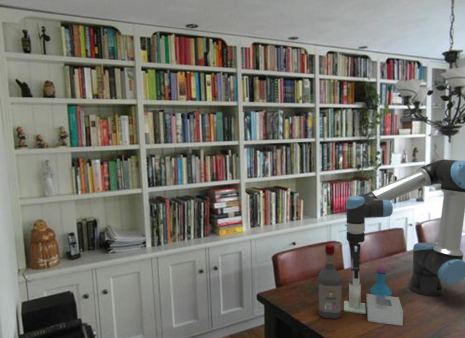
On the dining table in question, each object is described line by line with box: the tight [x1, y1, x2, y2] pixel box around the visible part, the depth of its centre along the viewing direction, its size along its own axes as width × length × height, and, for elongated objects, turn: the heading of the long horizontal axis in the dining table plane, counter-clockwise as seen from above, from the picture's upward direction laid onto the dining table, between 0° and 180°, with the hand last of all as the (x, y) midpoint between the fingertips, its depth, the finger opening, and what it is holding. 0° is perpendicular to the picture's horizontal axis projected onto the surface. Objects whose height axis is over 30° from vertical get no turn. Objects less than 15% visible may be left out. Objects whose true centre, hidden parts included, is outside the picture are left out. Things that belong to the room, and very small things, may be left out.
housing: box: [365, 293, 404, 327], centre depth 149 cm, size 13×13×6 cm
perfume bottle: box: [369, 267, 393, 297], centre depth 162 cm, size 9×9×15 cm
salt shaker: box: [348, 277, 362, 309], centre depth 156 cm, size 5×5×12 cm
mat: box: [343, 300, 367, 315], centre depth 156 cm, size 9×9×1 cm
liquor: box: [317, 244, 342, 320], centre depth 150 cm, size 9×9×30 cm
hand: (355, 278), depth 155 cm, fingers open, 13 cm apart
